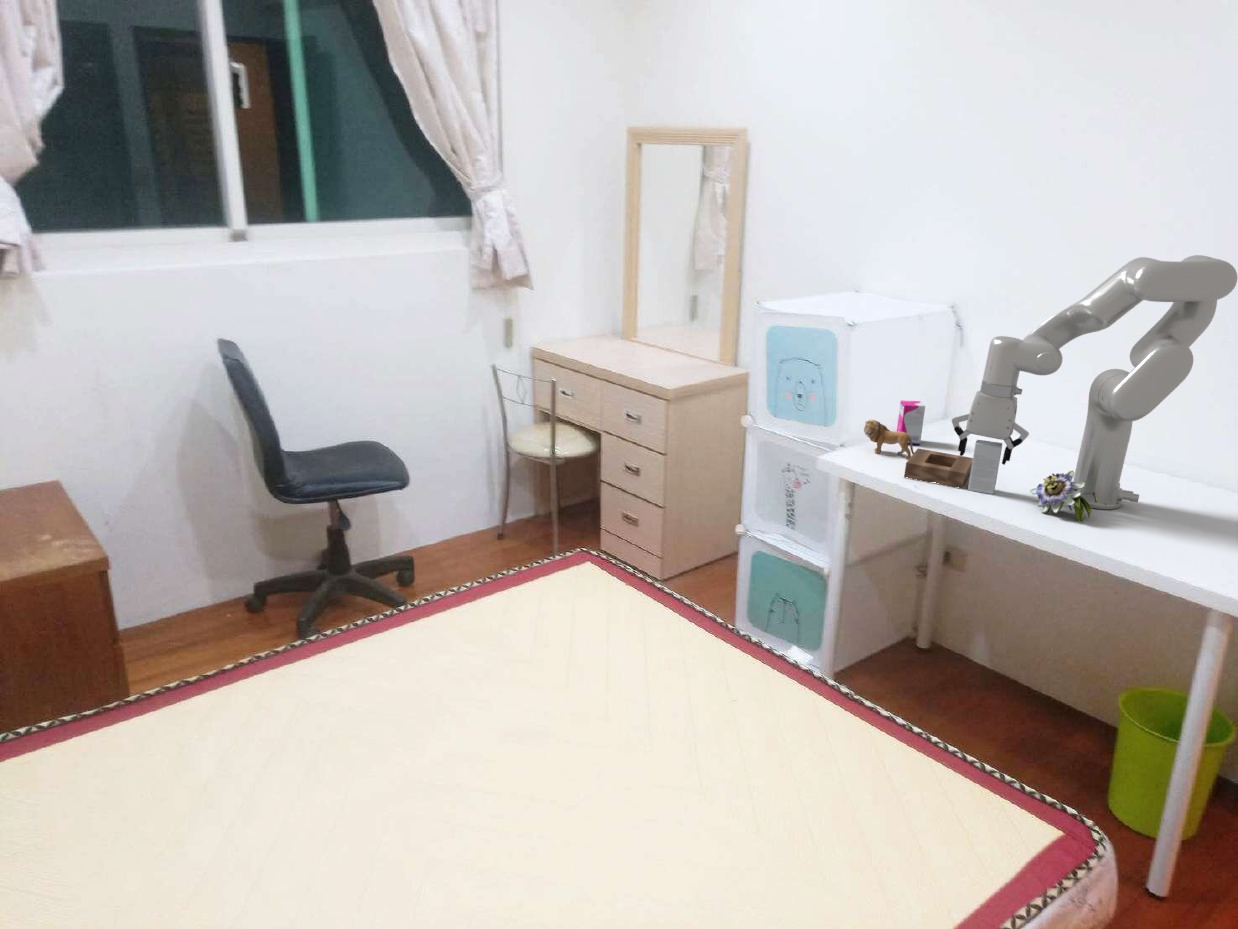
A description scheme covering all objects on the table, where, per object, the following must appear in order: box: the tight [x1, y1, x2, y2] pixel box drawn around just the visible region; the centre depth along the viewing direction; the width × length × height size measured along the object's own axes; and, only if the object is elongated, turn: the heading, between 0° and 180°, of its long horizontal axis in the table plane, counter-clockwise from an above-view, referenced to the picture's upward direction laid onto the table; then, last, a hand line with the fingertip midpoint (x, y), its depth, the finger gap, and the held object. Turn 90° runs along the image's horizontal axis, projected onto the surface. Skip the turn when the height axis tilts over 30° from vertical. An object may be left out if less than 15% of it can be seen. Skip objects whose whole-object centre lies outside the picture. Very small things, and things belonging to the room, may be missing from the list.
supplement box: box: [896, 399, 926, 446], centre depth 252 cm, size 6×6×12 cm
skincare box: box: [967, 439, 1003, 495], centre depth 217 cm, size 6×4×12 cm
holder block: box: [903, 448, 973, 489], centre depth 227 cm, size 14×14×4 cm
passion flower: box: [1029, 470, 1098, 523], centre depth 205 cm, size 11×11×12 cm
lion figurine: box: [863, 419, 915, 460], centre depth 242 cm, size 15×5×9 cm, turn 71°
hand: (982, 458), depth 216 cm, fingers open, 9 cm apart
